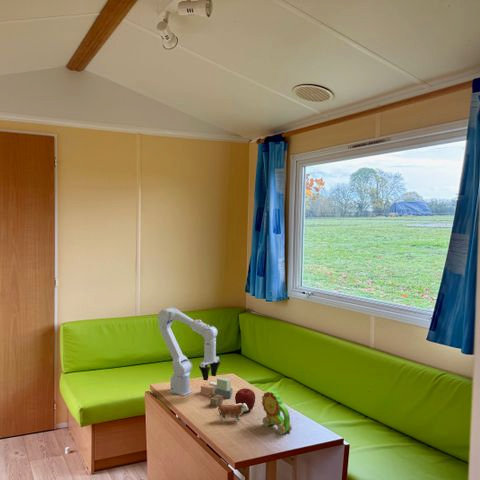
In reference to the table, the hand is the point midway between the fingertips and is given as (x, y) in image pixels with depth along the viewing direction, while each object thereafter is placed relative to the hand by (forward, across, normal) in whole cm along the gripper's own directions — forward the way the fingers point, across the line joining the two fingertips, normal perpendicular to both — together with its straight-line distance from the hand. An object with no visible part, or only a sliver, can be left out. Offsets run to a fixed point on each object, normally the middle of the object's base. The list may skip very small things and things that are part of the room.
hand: (209, 378), depth 248 cm
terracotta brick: (+10, +3, +3) cm, 10 cm away
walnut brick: (+10, -8, -9) cm, 15 cm away
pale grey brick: (+10, +9, +2) cm, 13 cm away
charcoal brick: (+10, +4, -6) cm, 12 cm away
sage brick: (+6, +4, -6) cm, 9 cm away
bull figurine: (+10, -20, -25) cm, 33 cm away
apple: (+10, -7, -24) cm, 27 cm away
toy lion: (+10, -17, -44) cm, 48 cm away
